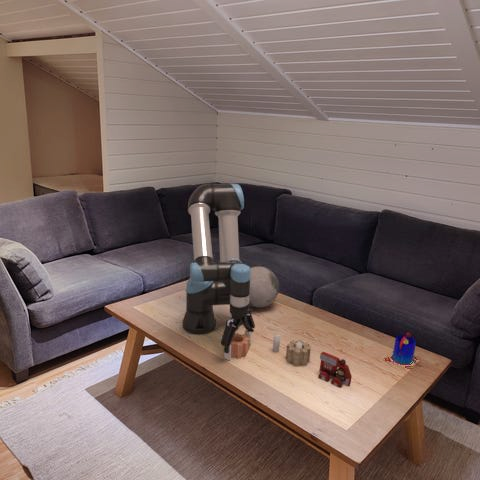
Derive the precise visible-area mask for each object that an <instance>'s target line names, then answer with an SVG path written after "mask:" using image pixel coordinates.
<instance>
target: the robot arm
mask: <svg viewBox="0 0 480 480" xmlns="http://www.w3.org/2000/svg"><path fill="white" fill-rule="evenodd" d="M244 208H245V198H244V193H243V189H242V187H241V185H240V184H237V183H231V182H230V183H205V184H201V185H200V186H198V187H197V188H195V190H194V191H193V192H192V194H191V195H190V197H189V199H188V204H187V212H188V214H189V215H190V219H191V234H192V235H191V236H192V247H193V261H194V262H191V263H190V265H189V278H188V280H187V281H186V288H185V291H186V294H185V296H186V300H185V301H186V305H185V307H186V309H185V310H186V311H185V313H184V317H183V319H182V324H181V325H182V329H183V330H184V331H185V332H187V333H188V334H192V335H207V334H209V333H211V332H214V331H215V330H216V328H217V319H216V317H215V313H214V309H213V308H214V306H224V305H225V306H226V305H227V306H228V305H229V313H230V316H231V317H230V319H229V320H228V319H226V320H225V326H224V330H223V333H222V337H221V339H220V342H219V343H220V345H221V346H223V353H224V355H223V356H224V357H223V358H224V359H225V360H227V361H229V362H230V361H231V360H232V357H231V345H230V344H231V341H232V339H233V337H234V335H235V333H236V332H237V331H238V330H239V329H240V327H241V326H243V327H244V328H245V330H244V335H246V338H249V339H250V342H249V348H250V347H251V346H252V345H251V344H252V343H251V342H252V341H251V340H252V333H254V332H255V328H256V324H255V321H254V317H253V315H252V313H253V312H252V310H251V309H250V306H249V294H250V278H251V274H250V268H251V267H250V266H249V265H247V264H244V263H243V262H242V261H241V260H240V245H239V224H238V217H239V215H240V214H241V211H242V210H243V209H244ZM212 210H213V211H214V214H215V216H217V218H218V239H219V243H218V244H219V257H220V258H219V261H216V262H214V257H213V248H212V236H211V228H210V217H209V216H210V215H209V214H210V213H211V211H212Z"/></svg>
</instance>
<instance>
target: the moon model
mask: <svg viewBox="0 0 480 480" xmlns="http://www.w3.org/2000/svg"><path fill="white" fill-rule="evenodd" d="M250 274H251V278H250V294H249V307H252V308H257V309H258V308H260V309H261V308H265V307H268V306H270V305H271V304H272V303H273V302H275V300H276V299H277V297H278V295H279V292H280V283H279V280H278V277H277V276H276V275H275V273H274V272H273V271H272V270H271V269H269V268H267V267H265V266H253V267H250Z"/></svg>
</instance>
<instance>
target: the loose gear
mask: <svg viewBox="0 0 480 480" xmlns="http://www.w3.org/2000/svg"><path fill="white" fill-rule="evenodd" d="M249 342H250V339H249V338H246V335H245V333H244V334H240V333H239V332H237V333H236V332H235V334H234V337H233V339H232V341H231V344H230V345H231V359H232V358H236V359H237V360H238V359H240V360H241V359H242V358H243V357H245V358H246V356H247V355H248V353H249V350H250V347H249Z"/></svg>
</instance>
